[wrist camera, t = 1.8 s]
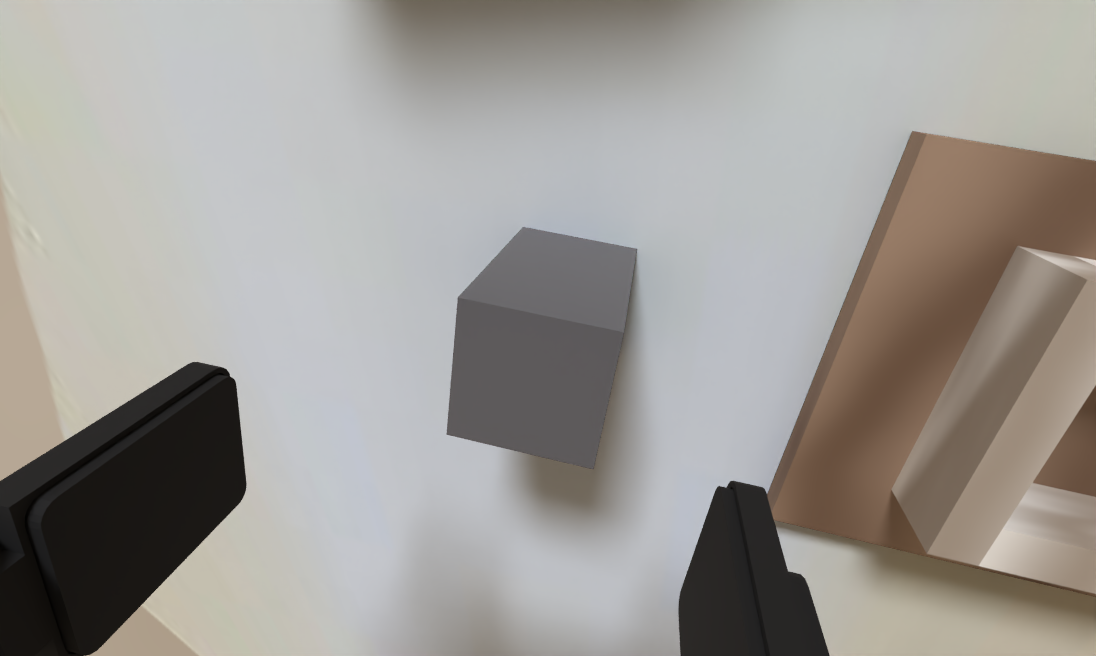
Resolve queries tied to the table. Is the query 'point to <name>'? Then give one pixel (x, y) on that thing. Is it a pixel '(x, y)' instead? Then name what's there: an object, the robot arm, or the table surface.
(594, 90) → the table surface
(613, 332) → the charger brick
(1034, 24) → the table surface
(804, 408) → the board
